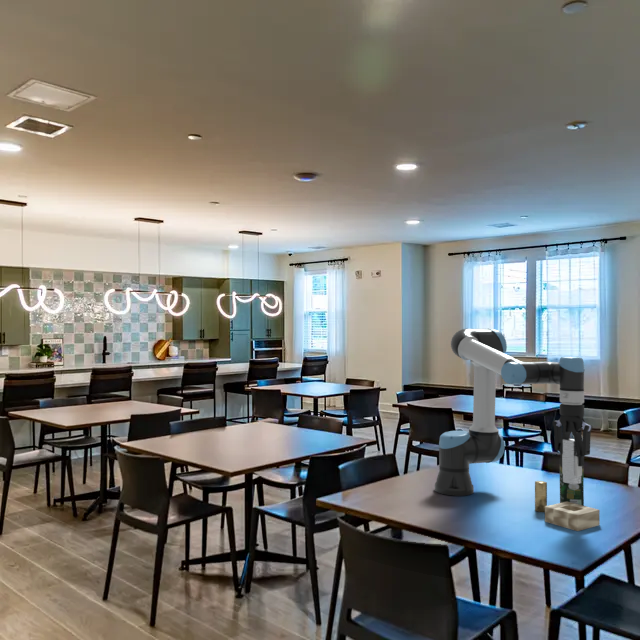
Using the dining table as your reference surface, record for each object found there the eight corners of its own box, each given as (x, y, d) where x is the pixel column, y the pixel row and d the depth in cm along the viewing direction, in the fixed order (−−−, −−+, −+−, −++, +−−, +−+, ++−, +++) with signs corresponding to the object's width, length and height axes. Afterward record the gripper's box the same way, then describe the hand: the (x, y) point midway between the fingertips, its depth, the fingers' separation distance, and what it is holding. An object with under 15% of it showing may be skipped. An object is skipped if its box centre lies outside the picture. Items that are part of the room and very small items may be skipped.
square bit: (562, 482, 204) (562, 439, 204) (570, 480, 206) (570, 438, 206) (573, 484, 200) (573, 441, 201) (581, 483, 202) (580, 440, 203)
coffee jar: (558, 504, 226) (558, 453, 227) (581, 506, 224) (581, 454, 225) (561, 511, 217) (561, 458, 218) (585, 513, 215) (585, 459, 216)
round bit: (532, 510, 218) (532, 481, 218) (539, 508, 220) (539, 480, 221) (542, 513, 215) (542, 484, 215) (549, 511, 217) (549, 482, 217)
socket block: (544, 521, 204) (544, 506, 205) (566, 516, 211) (566, 501, 211) (577, 531, 194) (577, 515, 195) (599, 525, 201) (599, 509, 201)
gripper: (542, 401, 209) (542, 471, 208) (588, 406, 195) (589, 481, 194) (556, 400, 213) (556, 468, 212) (602, 405, 199) (602, 478, 198)
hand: (572, 474), depth 203 cm, fingers closed on square bit, 4 cm apart
